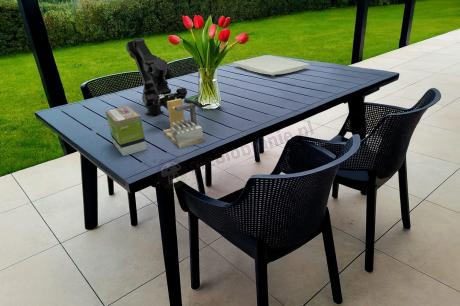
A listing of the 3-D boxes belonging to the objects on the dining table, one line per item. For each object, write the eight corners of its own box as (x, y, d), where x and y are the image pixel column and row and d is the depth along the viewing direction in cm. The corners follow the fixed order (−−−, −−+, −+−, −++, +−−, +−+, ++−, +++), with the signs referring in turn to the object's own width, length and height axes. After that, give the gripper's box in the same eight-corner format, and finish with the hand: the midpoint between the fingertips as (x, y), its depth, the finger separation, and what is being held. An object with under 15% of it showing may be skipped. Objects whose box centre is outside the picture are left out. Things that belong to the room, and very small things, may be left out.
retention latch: (170, 129, 152) (165, 100, 146) (183, 126, 155) (179, 97, 149) (175, 134, 148) (170, 104, 142) (188, 130, 150) (184, 101, 145)
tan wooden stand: (163, 133, 154) (158, 102, 147) (186, 127, 158) (182, 96, 152) (179, 148, 139) (175, 114, 133) (205, 141, 144) (201, 107, 137)
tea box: (112, 144, 147) (104, 110, 141) (135, 137, 152) (129, 104, 145) (122, 157, 135) (114, 120, 129) (147, 149, 140) (141, 114, 133)
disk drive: (216, 103, 188) (198, 98, 198) (216, 98, 187) (198, 93, 197) (201, 109, 182) (183, 103, 192) (200, 103, 181) (183, 98, 190)
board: (233, 68, 258) (233, 62, 256) (268, 61, 273) (268, 55, 270) (271, 80, 223) (271, 72, 221) (309, 71, 238) (310, 63, 236)
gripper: (176, 89, 168) (188, 117, 164) (138, 97, 160) (149, 127, 156) (181, 75, 158) (193, 105, 154) (140, 83, 150) (152, 115, 146)
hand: (172, 113), depth 153 cm, fingers closed
